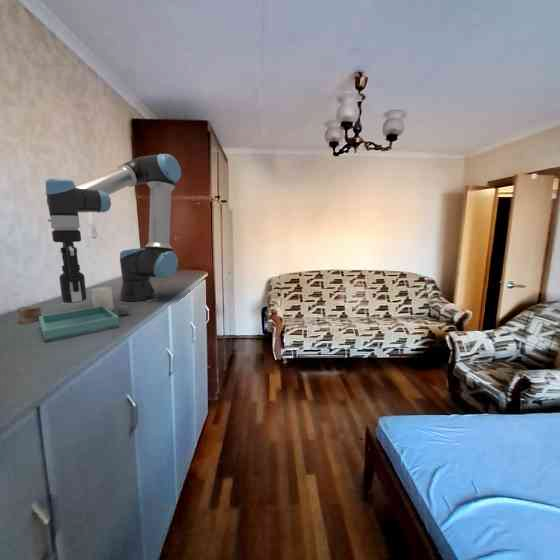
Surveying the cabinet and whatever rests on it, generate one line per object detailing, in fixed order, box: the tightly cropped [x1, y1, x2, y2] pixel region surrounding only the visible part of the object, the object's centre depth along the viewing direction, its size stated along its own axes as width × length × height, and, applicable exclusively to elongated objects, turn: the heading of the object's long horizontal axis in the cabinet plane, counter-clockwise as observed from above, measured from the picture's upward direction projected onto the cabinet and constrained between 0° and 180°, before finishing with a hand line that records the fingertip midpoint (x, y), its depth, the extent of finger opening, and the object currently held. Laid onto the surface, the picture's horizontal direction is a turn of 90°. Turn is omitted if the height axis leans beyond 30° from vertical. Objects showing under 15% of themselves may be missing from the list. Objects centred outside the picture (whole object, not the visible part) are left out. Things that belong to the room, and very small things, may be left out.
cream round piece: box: [90, 286, 115, 312], centre depth 122 cm, size 7×7×9 cm
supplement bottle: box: [59, 264, 87, 304], centre depth 100 cm, size 7×7×12 cm
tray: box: [38, 306, 120, 343], centre depth 103 cm, size 20×20×4 cm
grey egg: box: [117, 304, 130, 316], centre depth 115 cm, size 4×4×4 cm
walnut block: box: [17, 305, 42, 325], centre depth 110 cm, size 5×5×5 cm
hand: (75, 299), depth 101 cm, fingers closed on supplement bottle, 7 cm apart
